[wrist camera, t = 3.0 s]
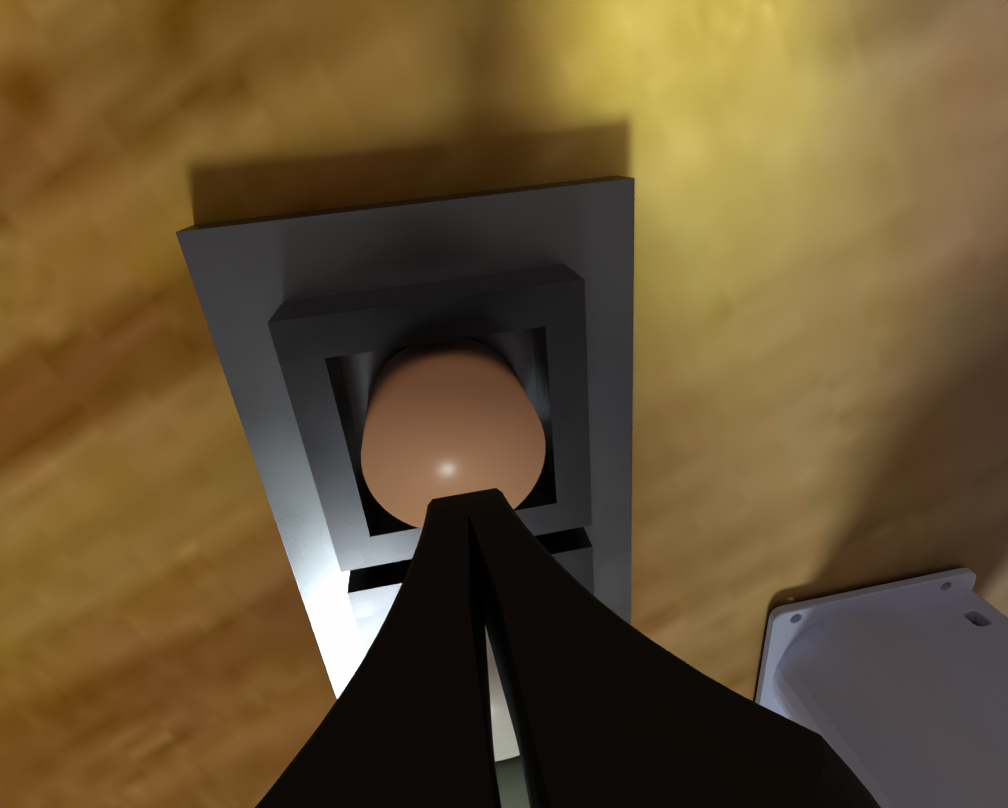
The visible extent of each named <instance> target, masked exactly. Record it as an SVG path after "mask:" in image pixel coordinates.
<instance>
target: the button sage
mask: <svg viewBox="0 0 1008 808" xmlns="http://www.w3.org/2000/svg"><path fill="white" fill-rule="evenodd" d="M495 766H496V774H497V781H498V788H499V794H500V801H501V808H530V805H529V799H528V794H527V788H526V783H525V778H524V772H523V767H522V762H521V758H520V755H518V756H515V757H512V758H509V759H505V760H500V761H495Z"/></svg>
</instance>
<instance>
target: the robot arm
mask: <svg viewBox="0 0 1008 808" xmlns="http://www.w3.org/2000/svg"><path fill="white" fill-rule="evenodd" d="M975 581H976V574H975V573H974V572H972V571H971V570H970V569H968V568H958V569H953V570H949V571H944V572H939V573H934V574H930V575H925V576H920V577H915V578H911V579H906V580H901V581H896V582H892V583H887V584H882V585H877V586H873V587H868V588H863V589H858V590H854V591H849V592H844V593H839V594H835V595H830V596H825V597H821V598H816V599H811V600H806V601H802V602H797V603H792V604H787V605H783V606H779V607H776V608H775V609H773V611H772V612H771V613H770V616H769V620H768V626H767V632H766V639H765V645H764V651H763V657H762V663H761V669H760V676H759V682H758V688H757V694H756V700H755V702H753V701H751V700H749V699H747V698H745V697H743V696H741V695H739V694H738V693H736V692H734V691H732V690H730V689H729V688H727V687H725V686H723V685H722V684H720V683H718V682H716V681H715V680H713V679H711V678H709V677H708V676H706V675H704V674H702V673H701V672H699V671H698V670H696V669H695V668H693V667H692V666H690V665H689V664H687V663H686V662H684V661H682V660H681V659H679V658H678V657H676V656H675V655H673V654H672V653H670V652H669V651H667V650H666V649H664V648H663V647H661V646H660V645H658V644H656V643H655V642H653V641H652V640H650V639H649V638H647V637H646V636H645V635H643V634H642V633H641V632H639V631H638V630H637V629H635V628H634V627H633V626H631V625H630V624H629V623H627V622H626V621H625V620H623V619H622V618H621V617H619V616H618V615H617V614H616V613H614V612H613V611H612V610H611V609H609V608H608V607H607V606H606V605H604V604H603V603H602V602H601V601H600V600H598V599H597V598H596V597H595V596H594V595H593V594H591V593H590V592H589V591H588V590H587V589H586V588H585V587H584V586H583V585H581V584H580V583H579V582H578V581H577V580H576V579H575V578H574V577H573V576H572V575H571V574H570V573H569V572H568V571H567V570H566V569H565V568H564V567H563V566H562V565H561V564H560V563H559V562H558V561H557V560H556V559H555V558H554V557H553V556H552V555H551V554H550V553H549V552H548V551H547V549H546V548H545V547H544V546H543V545H542V544H541V543H540V542H539V541H538V540H537V538H536V537H535V536H534V535H533V534H532V533H531V531H530V530H529V529H528V528H527V527H526V525H525V524H524V523H523V522H522V520H521V519H520V518H519V516H518V515H517V514H516V512H515V511H514V510H513V508H512V507H511V505H510V504H509V502H508V501H507V499H506V498H505V496H504V494H503V492H501V491H500V490H499V489H497V488H492V489H487V490H481V491H475V492H469V493H464V494H458V495H452V496H446V497H441V498H435V499H432V500H431V501H430V503H429V504H428V505H427V512H426V517H425V521H424V525H423V528H422V532H421V535H420V538H419V541H418V544H417V547H416V550H415V552H414V555H413V558H412V560H411V563H410V565H409V568H408V571H407V573H406V576H405V578H404V580H403V583H402V585H401V587H400V589H399V591H398V593H397V596H396V598H395V600H394V602H393V604H392V606H391V608H390V610H389V612H388V615H387V617H386V619H385V621H384V623H383V624H382V626H381V628H380V630H379V632H378V634H377V636H376V637H375V639H374V641H373V643H372V645H371V646H370V648H369V650H368V652H367V653H366V655H365V657H364V658H363V660H362V662H361V663H360V665H359V667H358V668H357V670H356V672H355V673H354V675H353V676H352V678H351V679H350V681H349V682H348V684H347V685H346V687H345V688H344V690H343V692H342V693H341V695H340V696H339V698H338V699H337V701H336V702H335V704H334V705H333V707H332V708H331V710H330V711H329V713H328V714H327V715H326V717H325V718H324V720H323V721H322V722H321V724H320V725H319V727H318V728H317V729H316V731H315V732H314V733H313V735H312V736H311V737H310V739H309V740H308V741H307V742H306V744H305V745H304V746H303V748H302V749H301V750H300V752H299V753H298V754H297V755H296V757H295V758H294V759H293V761H292V762H291V763H290V764H289V766H288V767H287V768H286V770H285V771H284V772H283V774H282V775H281V776H280V777H279V779H278V780H277V781H276V783H275V784H274V785H273V786H272V788H271V789H270V790H269V791H268V793H267V794H266V795H265V796H264V797H263V799H262V800H261V801H260V802H259V803H258V805H257V806H256V807H255V808H501V801H500V794H499V788H498V781H497V774H496V766H495V757H494V747H493V735H492V720H491V705H490V690H489V675H488V660H487V645H486V630H487V633H488V637H489V641H490V644H491V648H492V652H493V655H494V659H495V663H496V667H497V670H498V674H499V678H500V681H501V685H502V689H503V692H504V696H505V700H506V703H507V707H508V711H509V714H510V718H511V722H512V725H513V729H514V733H515V736H516V740H517V745H518V749H519V753H520V758H521V762H522V767H523V772H524V778H525V783H526V788H527V794H528V799H529V805H530V808H1008V618H1007V617H1006V616H1005V615H1004V614H1002V613H1001V612H1000V611H998V610H997V609H996V608H995V607H993V606H992V605H991V604H990V603H988V602H987V601H986V600H984V599H983V598H982V597H981V596H979V595H978V594H977V593H976V592H974V591H973V590H972V589H973V586H974V584H975ZM485 626H486V630H485Z"/></svg>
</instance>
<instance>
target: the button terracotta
mask: <svg viewBox="0 0 1008 808" xmlns="http://www.w3.org/2000/svg"><path fill="white" fill-rule="evenodd" d="M544 458H545V437H544V431H543V428H542V425H541V422H540V420H539V418H538V415H537V413H536V411H535V409H534V407H533V405H532V403H531V401H530V399H529V397H528V395H527V393H526V391H525V389H524V387H523V385H522V383H521V381H520V379H519V377H518V375H517V373H516V372H515V370H514V369H513V367H512V366H511V365H510V364H509V362H508V361H507V360H506V359H505V358H504V357H503V356H501V355H500V354H499V353H498V352H497V351H495V350H493V349H492V348H490V347H489V346H486V345H484V344H482V343H480V342H477V341H474V340H470V339H466V338H461V339H455V340H448V341H441V342H434V343H427V344H420V345H413V346H409V347H407V348H405V349H403V350H402V351H400V352H399V353H397V354H396V355H395V356H394V357H393V358H391V359H390V360H389V361H388V362H387V363H386V364H385V366H384V367H383V368H382V369H381V370H380V372H379V373H378V375H377V377H376V378H375V380H374V382H373V385H372V387H371V390H370V393H369V397H368V404H367V411H366V419H365V426H364V434H363V441H362V449H361V465H362V471H363V475H364V478H365V481H366V484H367V486H368V488H369V490H370V492H371V493H372V495H373V496H374V498H375V499H376V500H377V502H378V503H379V504H380V505H381V506H382V507H383V508H384V509H385V510H386V511H388V512H389V513H390V514H391V515H393V516H394V517H396V518H397V519H399V520H401V521H403V522H405V523H407V524H409V525H411V526H414V527H417V528H421V529H422V528H423V525H424V521H425V517H426V512H427V505H428V504H429V503H430V501H431V500H432V499H435V498H441V497H446V496H452V495H458V494H464V493H469V492H475V491H481V490H487V489H492V488H497V489H499V490H500V491H501V492H503V494H504V496H505V498H506V499H507V501H508V502H509V504H510V505H511V507H512V508H513V509H515V508H516V507H517V506H518V505H519V504H520V503H521V502H522V501H523V500H524V499H525V498H526V497H527V496H528V494H529V493H530V492H531V490H532V489H533V487H534V486H535V484H536V482H537V480H538V478H539V476H540V474H541V471H542V467H543V464H544Z"/></svg>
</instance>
